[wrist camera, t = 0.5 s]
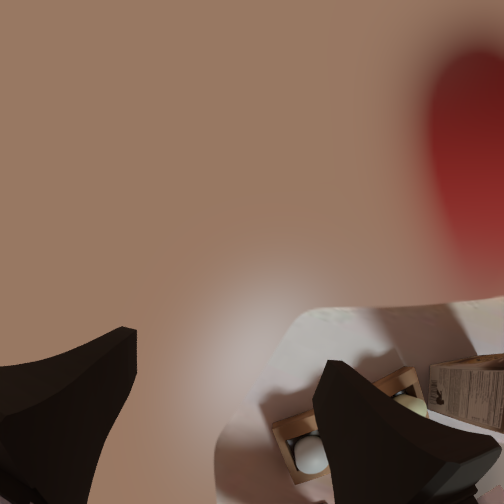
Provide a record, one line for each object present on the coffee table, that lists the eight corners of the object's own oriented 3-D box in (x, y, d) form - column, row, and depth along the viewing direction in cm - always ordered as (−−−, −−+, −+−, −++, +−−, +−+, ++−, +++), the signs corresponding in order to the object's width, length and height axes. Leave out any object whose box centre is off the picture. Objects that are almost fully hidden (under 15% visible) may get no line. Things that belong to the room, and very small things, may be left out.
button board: (404, 366, 29) (414, 367, 27) (420, 418, 27) (430, 423, 24) (272, 423, 29) (272, 429, 26) (293, 475, 26) (294, 485, 24)
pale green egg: (414, 412, 26) (429, 418, 22) (390, 425, 26) (403, 434, 22) (407, 388, 27) (422, 392, 23) (382, 402, 27) (395, 408, 23)
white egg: (328, 454, 25) (334, 466, 22) (299, 464, 25) (301, 478, 21) (319, 430, 26) (324, 441, 23) (290, 440, 26) (291, 452, 23)
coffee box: (478, 353, 28) (561, 343, 13) (476, 397, 26) (556, 405, 11) (428, 363, 29) (512, 363, 14) (425, 411, 27) (504, 436, 12)
